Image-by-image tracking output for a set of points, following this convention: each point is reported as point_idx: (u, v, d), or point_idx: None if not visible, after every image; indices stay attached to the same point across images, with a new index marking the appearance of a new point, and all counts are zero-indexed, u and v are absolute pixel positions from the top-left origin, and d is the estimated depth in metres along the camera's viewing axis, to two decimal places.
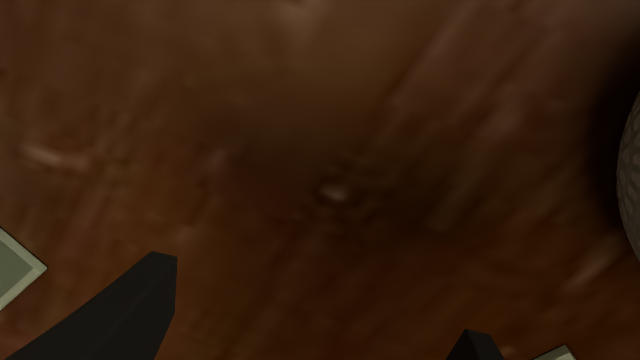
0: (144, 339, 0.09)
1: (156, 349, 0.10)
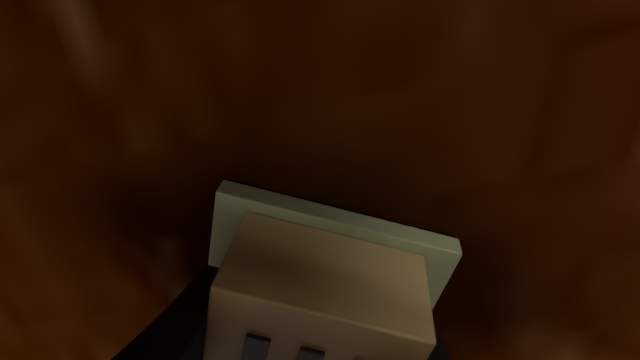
0: None
1: None
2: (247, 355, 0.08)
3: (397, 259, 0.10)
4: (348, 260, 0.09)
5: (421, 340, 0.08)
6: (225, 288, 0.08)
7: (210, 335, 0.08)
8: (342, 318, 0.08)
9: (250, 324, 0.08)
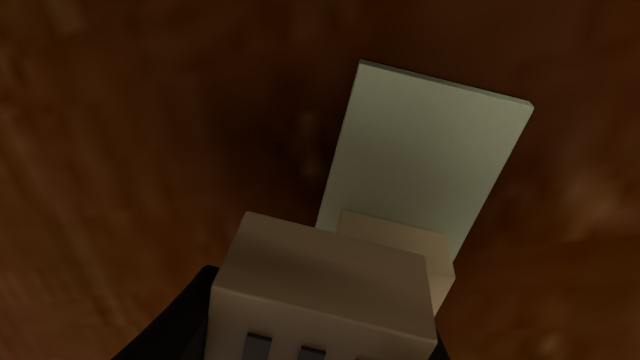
0: None
1: None
2: (248, 354, 0.08)
3: (398, 259, 0.10)
4: (349, 259, 0.09)
5: (422, 339, 0.08)
6: (226, 287, 0.08)
7: (211, 334, 0.08)
8: (343, 317, 0.08)
9: (251, 322, 0.08)
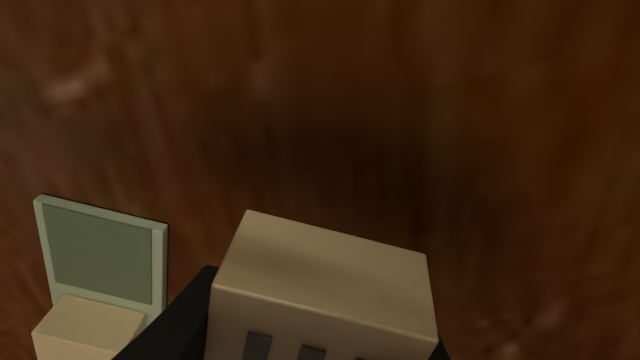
0: None
1: None
2: (248, 353, 0.08)
3: (399, 257, 0.09)
4: (349, 258, 0.09)
5: (423, 338, 0.08)
6: (226, 286, 0.08)
7: (211, 332, 0.08)
8: (344, 316, 0.08)
9: (251, 321, 0.08)
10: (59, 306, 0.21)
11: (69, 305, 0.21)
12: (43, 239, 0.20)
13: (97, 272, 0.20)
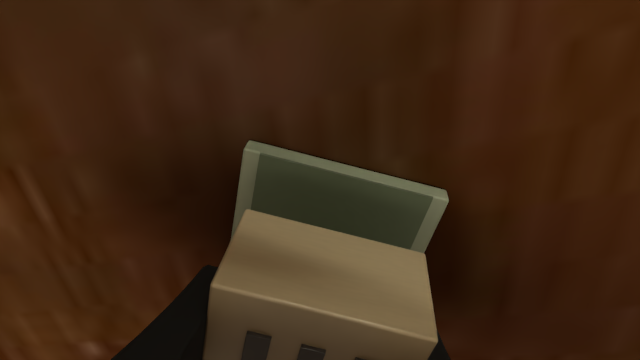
0: None
1: None
2: (247, 353, 0.08)
3: (398, 257, 0.09)
4: (349, 257, 0.09)
5: (423, 338, 0.08)
6: (225, 285, 0.08)
7: (210, 332, 0.08)
8: (343, 315, 0.08)
9: (250, 321, 0.08)
10: None
11: None
12: (240, 213, 0.13)
13: None
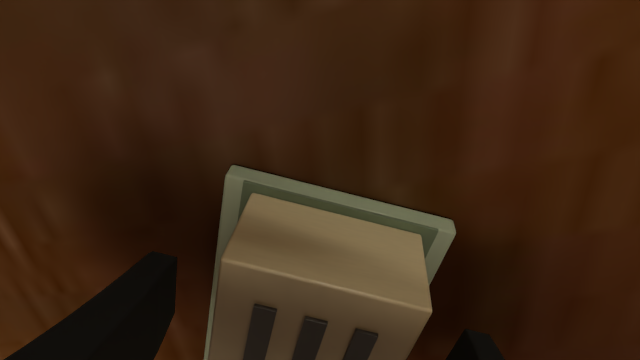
0: (144, 339, 0.09)
1: (156, 349, 0.10)
2: (254, 325, 0.09)
3: (396, 237, 0.10)
4: (349, 237, 0.10)
5: (418, 308, 0.08)
6: (234, 259, 0.08)
7: (220, 305, 0.09)
8: (343, 287, 0.08)
9: (257, 294, 0.09)
10: None
11: None
12: (223, 244, 0.12)
13: None
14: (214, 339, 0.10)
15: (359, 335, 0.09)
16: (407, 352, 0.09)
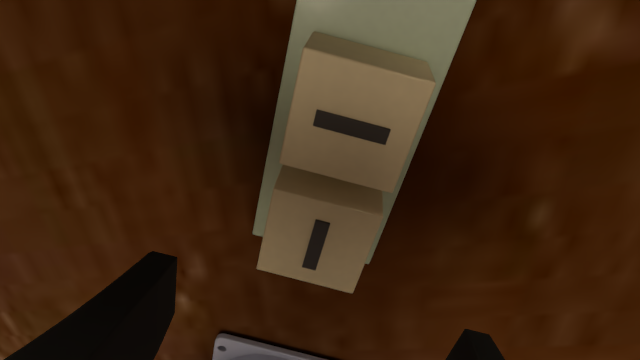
0: (144, 339, 0.09)
1: (156, 350, 0.10)
2: None
3: None
4: None
5: None
6: None
7: None
8: None
9: None
10: None
11: None
12: None
13: None
14: None
15: None
16: None
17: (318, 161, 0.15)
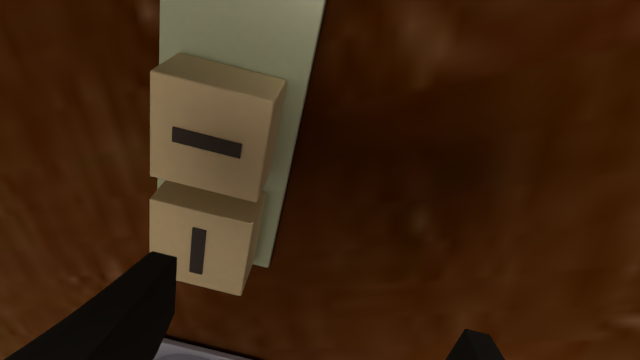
0: (144, 339, 0.09)
1: (156, 349, 0.10)
2: None
3: None
4: None
5: None
6: None
7: None
8: None
9: None
10: None
11: None
12: None
13: None
14: None
15: None
16: None
17: (184, 173, 0.16)
